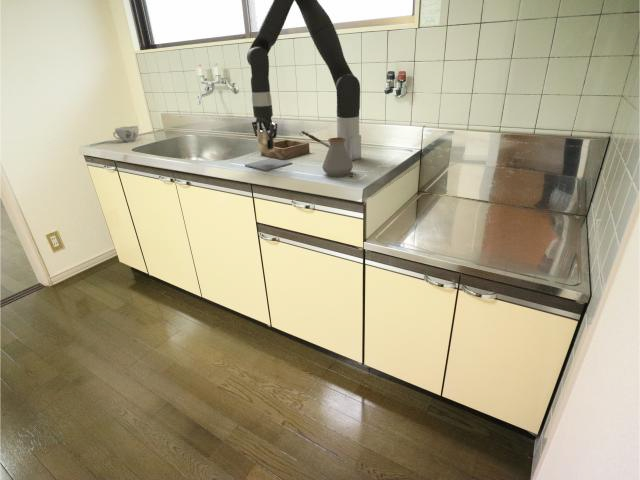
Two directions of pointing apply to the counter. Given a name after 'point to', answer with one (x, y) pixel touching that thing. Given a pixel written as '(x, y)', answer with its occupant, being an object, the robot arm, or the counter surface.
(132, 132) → the teacup
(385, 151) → the counter surface
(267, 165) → the charcoal mat
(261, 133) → the maple block
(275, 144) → the walnut crate
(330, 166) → the coffee pot
